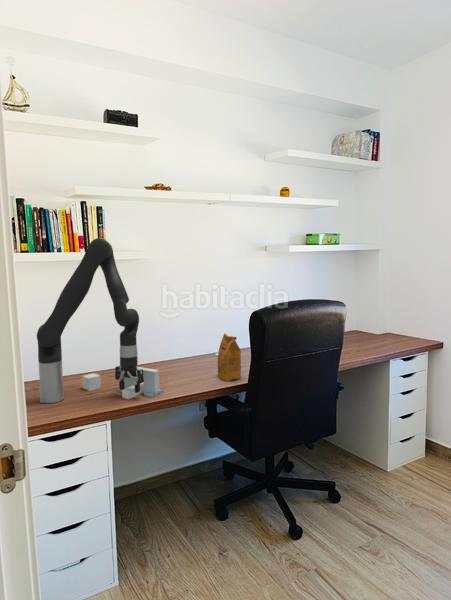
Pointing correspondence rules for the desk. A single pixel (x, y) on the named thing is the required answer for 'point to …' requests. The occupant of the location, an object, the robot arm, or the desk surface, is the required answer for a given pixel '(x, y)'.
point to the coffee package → (229, 359)
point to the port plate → (146, 382)
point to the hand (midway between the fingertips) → (129, 390)
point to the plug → (132, 391)
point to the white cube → (91, 381)
